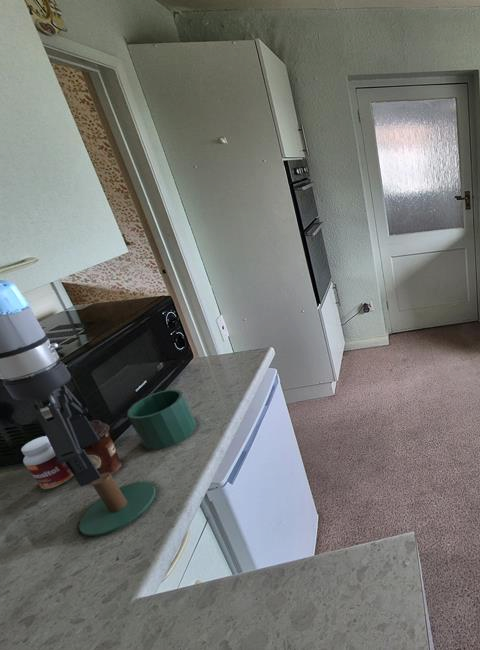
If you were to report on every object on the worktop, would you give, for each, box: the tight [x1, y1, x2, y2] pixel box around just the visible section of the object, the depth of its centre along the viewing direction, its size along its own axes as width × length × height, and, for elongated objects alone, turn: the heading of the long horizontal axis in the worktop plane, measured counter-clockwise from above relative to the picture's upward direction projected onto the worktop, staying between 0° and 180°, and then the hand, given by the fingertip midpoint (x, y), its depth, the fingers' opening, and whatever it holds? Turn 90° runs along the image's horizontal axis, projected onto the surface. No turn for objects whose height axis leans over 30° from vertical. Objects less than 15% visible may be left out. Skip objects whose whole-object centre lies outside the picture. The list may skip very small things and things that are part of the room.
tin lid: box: [78, 472, 156, 537], centre depth 78 cm, size 12×12×9 cm
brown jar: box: [78, 419, 122, 476], centre depth 87 cm, size 9×8×13 cm
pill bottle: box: [20, 435, 74, 490], centre depth 87 cm, size 6×6×11 cm
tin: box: [127, 389, 197, 451], centre depth 98 cm, size 11×11×10 cm
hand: (91, 461), depth 74 cm, fingers open, 13 cm apart
